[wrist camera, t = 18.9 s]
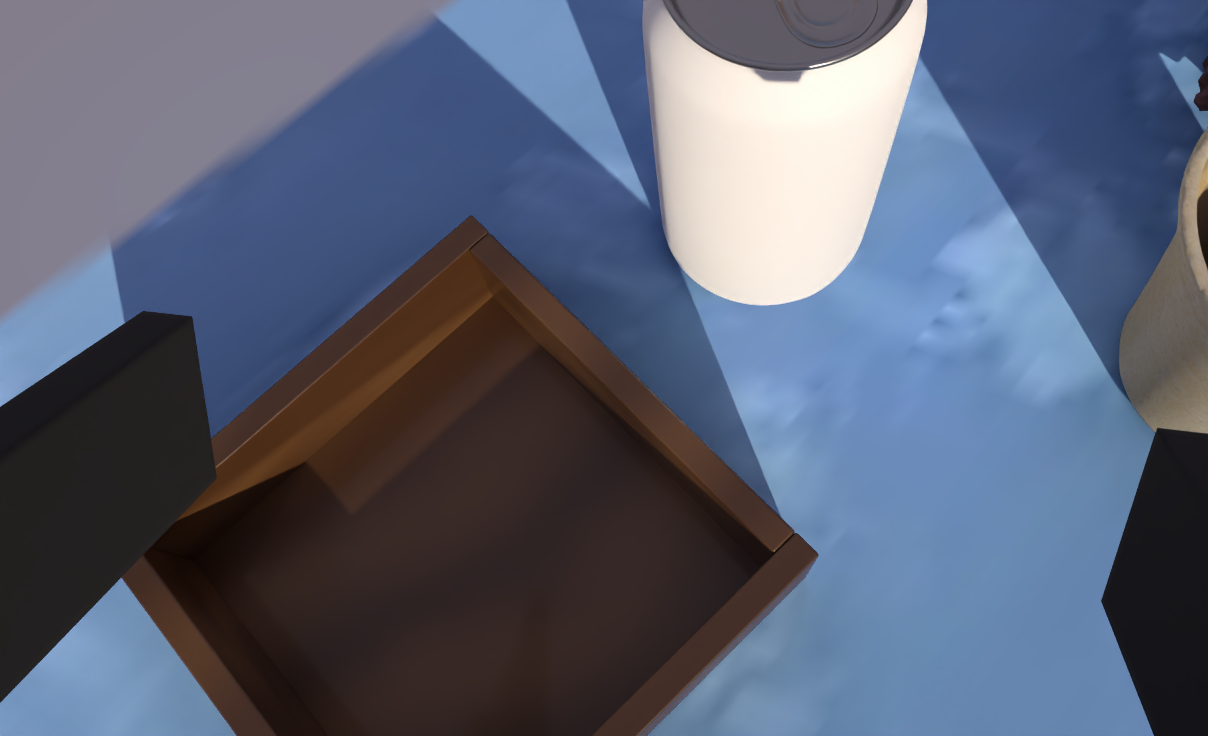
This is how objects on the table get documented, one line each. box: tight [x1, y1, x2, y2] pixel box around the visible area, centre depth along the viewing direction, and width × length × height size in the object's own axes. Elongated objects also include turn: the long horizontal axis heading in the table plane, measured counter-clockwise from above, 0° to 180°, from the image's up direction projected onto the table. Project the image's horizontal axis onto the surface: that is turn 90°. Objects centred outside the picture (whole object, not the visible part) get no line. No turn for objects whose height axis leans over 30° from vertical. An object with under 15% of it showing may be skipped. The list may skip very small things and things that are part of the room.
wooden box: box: [121, 215, 818, 736], centre depth 28 cm, size 14×14×4 cm
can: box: [642, 0, 927, 305], centre depth 27 cm, size 6×6×12 cm
